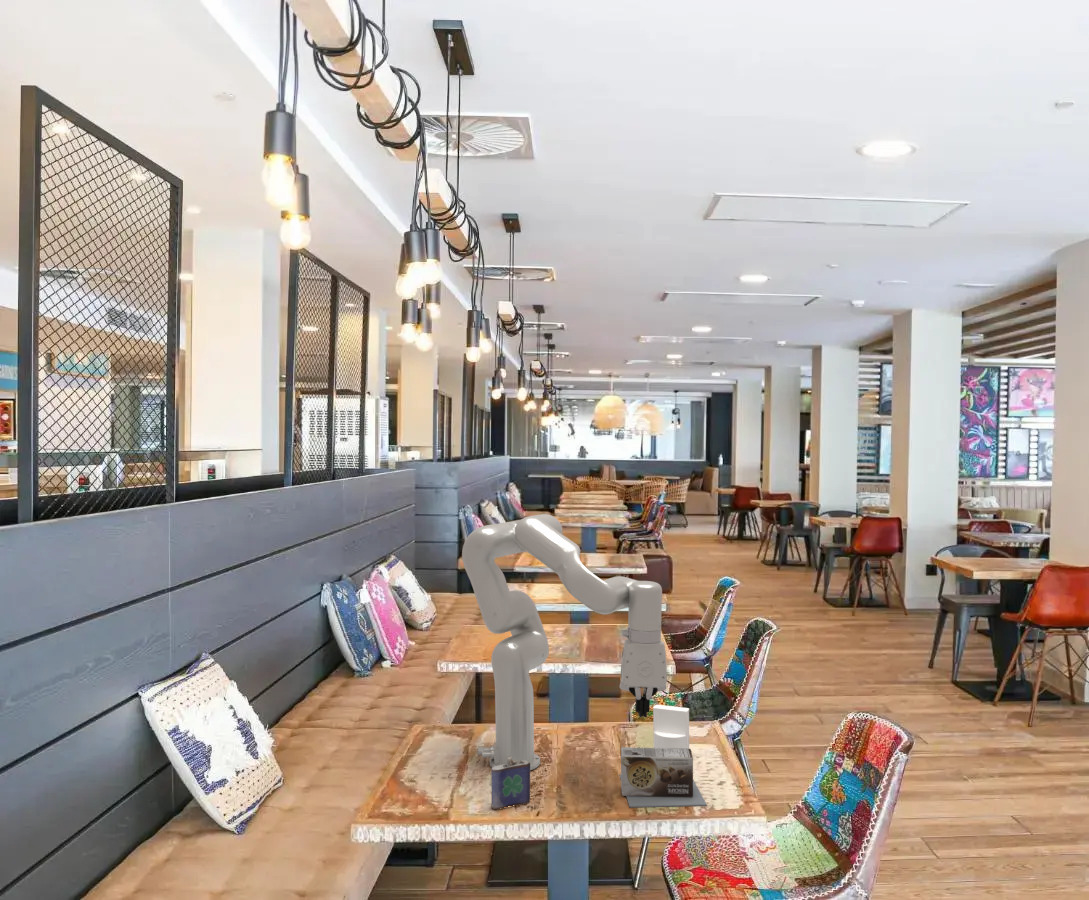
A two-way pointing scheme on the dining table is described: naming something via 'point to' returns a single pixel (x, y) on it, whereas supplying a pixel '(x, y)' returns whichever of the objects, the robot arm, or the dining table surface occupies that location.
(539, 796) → the dining table surface
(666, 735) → the cylinder with rectangular tab
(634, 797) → the mat
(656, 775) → the coffee box
